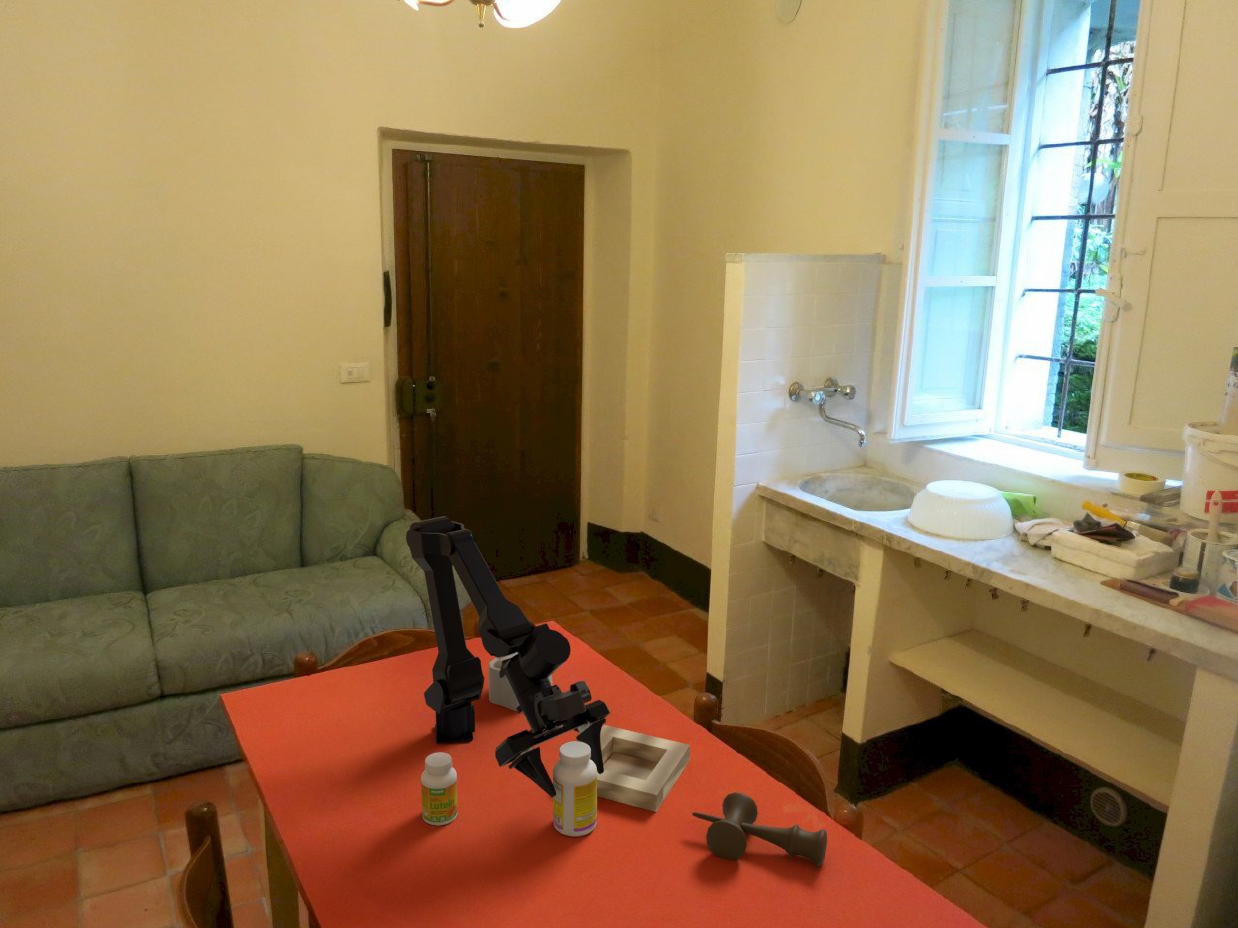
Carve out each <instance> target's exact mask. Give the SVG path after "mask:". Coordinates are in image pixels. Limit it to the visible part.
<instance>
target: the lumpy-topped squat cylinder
mask: <svg viewBox="0 0 1238 928" xmlns="http://www.w3.org/2000/svg"><path fill="white" fill-rule="evenodd" d="M516 654H518V652H517V653H514V654H511V655H508V656H505V657H503V656H502V657H498V658H497V657H494V658H493V659H492V660H491V661H489V664H488V700H489V702H490V703H492V704H494V705H498V706H502V707H504V708H506V709H509V710H511V711H514V712H518V711H517V709H516V708H517V707H518V706H519V705H520V704H519V702H518V700H517V698H516V696H515V694H514V692H513V689H512V687H511V685H510V683H509V681H508V679H507V677H504V678H500V676H499V672H500V669H501V666H502V661H503V660H506V659H508V658H511V657H513V656H515V655H516ZM548 678H549V680H550V683H551V685H552V686H553V674H552V675H551V676H549V677H548Z"/></svg>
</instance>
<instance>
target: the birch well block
mask: <svg viewBox="0 0 1238 928" xmlns="http://www.w3.org/2000/svg"><path fill="white" fill-rule="evenodd" d="M600 741H601V751H602V758H603V766H604V772H603V773H602V774H599V773H598V772H597V798H598V797H599V798H603V799H606V800H611V801H613V802H616V803H617V802H618V803H620V804H624V805H629V806H632V807H636V808H640V809H644V810H647V811H651V812H655V813H657V812H658V810H659V809H660V807H661V805H662V804H663V803H664V801H665V799H666V798H667V796H668V795H669V793H670V792H671V790H672V788H673V787H674V786H675V784H676V782H677V781H678V779H679V777H680V776H681V775H682V773H683V771H684V770H685V768H686V767H687V765H688V763H689V762H690V758H691V757H690V755H691V744H687V743H684V742H678V741H674V740H670V739H666V738H662V737H658V736H653V735H649V734H646V733H645V734H644V733H641V732H637V731H632V730H628V729H623V728H619V727H615V726H611V725H606V724H603V725H602V729H601V733H600Z"/></svg>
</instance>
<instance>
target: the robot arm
mask: <svg viewBox="0 0 1238 928" xmlns="http://www.w3.org/2000/svg"><path fill="white" fill-rule="evenodd" d="M405 539H406V543H407V546H408V548H409V551H410V554H411V558H412V560H413V561H414V562H415V563H416V564H417V566H419V567H420V569H422V571H423V573H424V579H425V583H426V588H427V595H428V599H429V600H428V601H429V606H430V611H431V618H432V622H433V629H434V633H435V639H436V640H435V641H436V645H437V646H436V647H437V651H438V654H437V656H436V659H435V661H434V664H433V667H432V671H431V673H432V681H433V682H432V683H431V684H430V686H429V687H428V688H427V689H426V690H424V692H423V696H424V700H425V704H426V706H427V707H429V708H430V709H432V711H434V712H435V724H434V729H435V731H434V733H435V744H438V745H439V744H448V743H459V742H469V741H473V740H474V734H473V733H475V732H476V711H475V705H474V704H473V703H472V702H475V701H479V700H481V697H482V694H483V693H482V692H483V689H484V684H485V676H484V673H483V670H482V661H481V659H480V657H479V656H475V655H474V654H473V653H472V652H471V650H469V648H468V647H467V642H466V637H465V636H466V635H465V632H464V631H465V630H464V624H463V620H462V619H463V618H462V614H461V608H460V602H459V596H458V590H457V586H456V580H455V574H454V570H455V573H456V574H457V575H458V578H459V580H460V582H461V584H462V586H463V587H464V589H465V592H466V593H467V595H468V597H469V598H470V600H471V603H472V605H473V606H474V608H475V610H476V613H477V615H478V625H477V631H478V634H479V636H480V639H481V642H482V646H483V649H484V650H485V651H486V652H487V654H489V656H490V657H494V658H496V657H497V658H498V657H502V656H503V657H505V656H508V655H511V654H514V653H517V652H518V654H516V655H515V656H513V657H511V658H508V659H506V660H503V661H502V666H501V669H500V672H499V676H500V678H504V677H507V679H508V681H509V683H510V685H511V687H512V689H513V692H514V694H515V696H516V698H517V700H518V702H519V704H520V705H519V706H518V707H517V708H516V709H517V711H516V712H518V714H519V715H520V714H523V715H524V717H525V719H526V721H527V723H528V725H529V728H530V730H528V729H525V730H522V731H520V732H517V733H514V734H513V735H510V736H507V737H506V738H505V739H504V740H503V741H502V742H501V743H500V744H499V745H497V746H496V747H495V751H494V754H495V755H494V757H495V759H496V762H497V763H498V766H499V768H501V767H504V766H507V765H508V766H507V767H508V769H509V770H512V769H515V770H517V771H518V772H520V773H521V774H523V775H524V776H525V777H526V778H528V779H529V780H531V781H532V782H533V783H534V784H536V785H537V786H538V787H539V788H540V789H542V790H543V791H544V792H545V793H546V794H547V795H549V796H550V797H551V798H553V797H554V796H556V791H555V788H554V785H553V780H552V779H551V777H550V774H549V772H548V771H547V768H546V766H545V765H544V762H543V761H542V755H541V747H540V746H539V745H541V744H543V743H545V742H547V741H550V740H552V739H554V738H557V737H559V736H562V735H564V734H566V733H568V732H572V731H575V732H577V733H578V734H577V735H576V736H575V739H576V740H577V741H579V742H583V743H586V744H587V745H589V746H590V749H591V757H590V759H591V760H592V761H593V762H594V763H595V765H596V767H597V772H598V773H599V774H602V773H603V772H604V766H603V765H604V764H603V758H602V751H601V741H600V733H601V729H602V727H603V726H604V725H605V724H606V723H607V717H608V716H610V715H611V711H610V708H609V707H608V704H607V703H606V702H605V701H603V700H601V699H597V700H595V701H593V702H591V701H592V698H593V697H592V696H593V695H592V694H591V690H590V688H589V687H588V684H587V683H586V681H585V680H581V681H579V680H578V681H576V682H574V683H572V684H570V685H569V690H568V691H567V690H566V691H565V692H564V691H562V690H561V688H560V686H559V685H558V684H552V685H551V683H550V680H549V678H548V677H549V676H551V675H552V676H553V674H554V673H555V672H557V670H558V669H559V668H561V666H562V665H564V663H566V662H567V660H568V659H569V658H570V655H571V651H572V650H571V645H570V642H569V640H568V638H567V637H565V636H564V635H563V634H562V633H561V632H559V631H558V630H554V629H551V628H550V627H549V624H548V623H546V622H545V623H542V624H539V625H535V624H534V623H532V621H530V620H529V619H528V617H527V616H526V614H525V613H524V612H523V610H522V609H521V607H520V606H518V605H517V604H516V603H514V602H512V601H510V599H507V598H506V596H505V594H504V593H503V592H502V590H501V587H500V586H499V583H498V582H497V581H496V578H495V577H494V575H493V573H492V571H491V569H490V567H489V565H488V564H487V561H486V560H485V558H484V557H483V555H482V552H481V551H480V549H479V547H478V545H477V539H476V535H475V533H474V532H473V531H472V530H471V529H468V528H465V524H464V523H462V522H457V521H453V520H451V519H450V517H448V516H445V515H443V516H437V517H434V518H429V519H424V520H418V521H414V522H412V523H411V525H410V526H409V529H408V530H407V531H406V534H405ZM589 702H590V703H589ZM586 703H587V704H586ZM536 746H538V747H536ZM535 747H536V748H535Z"/></svg>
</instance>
